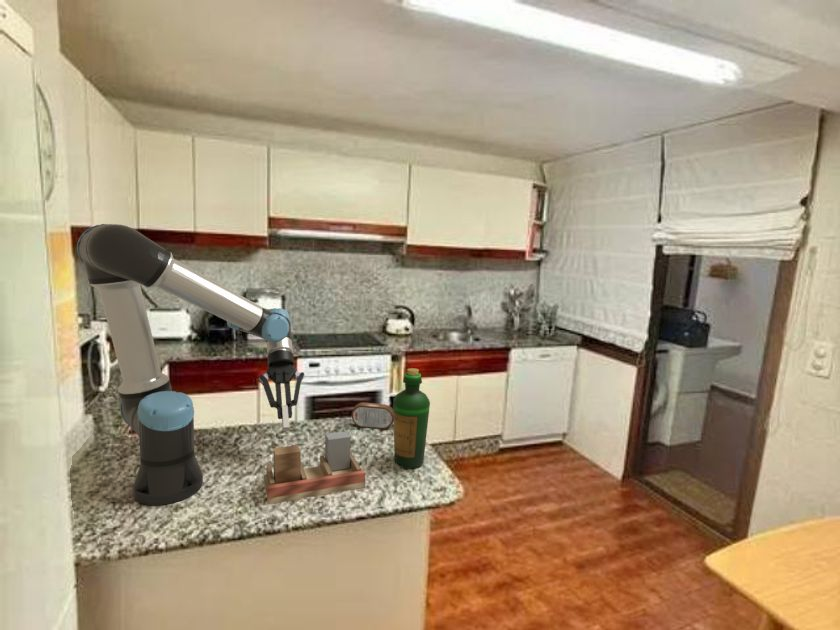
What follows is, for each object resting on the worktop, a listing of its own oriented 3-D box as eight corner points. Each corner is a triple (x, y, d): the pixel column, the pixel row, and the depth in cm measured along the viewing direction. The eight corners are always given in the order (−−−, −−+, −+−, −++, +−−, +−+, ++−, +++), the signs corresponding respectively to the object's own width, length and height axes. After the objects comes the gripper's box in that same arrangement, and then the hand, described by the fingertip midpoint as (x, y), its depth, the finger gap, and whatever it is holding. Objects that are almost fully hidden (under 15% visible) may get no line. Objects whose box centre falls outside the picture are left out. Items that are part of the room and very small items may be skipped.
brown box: (275, 489, 111) (275, 455, 110) (273, 480, 115) (273, 447, 114) (300, 485, 113) (300, 451, 112) (297, 476, 117) (297, 443, 116)
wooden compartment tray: (268, 504, 108) (268, 486, 107) (263, 480, 118) (263, 463, 118) (364, 487, 117) (365, 471, 117) (352, 466, 128) (353, 451, 127)
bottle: (386, 456, 135) (389, 365, 131) (419, 452, 139) (423, 364, 135) (396, 473, 125) (401, 376, 121) (432, 468, 129) (437, 373, 125)
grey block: (327, 471, 121) (328, 439, 119) (324, 463, 125) (324, 432, 124) (349, 468, 123) (350, 436, 122) (345, 460, 127) (346, 430, 126)
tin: (394, 427, 157) (395, 404, 156) (393, 431, 154) (394, 407, 153) (352, 423, 159) (353, 400, 157) (350, 427, 156) (350, 403, 154)
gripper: (300, 360, 142) (308, 431, 130) (256, 362, 137) (260, 436, 124) (303, 347, 136) (311, 421, 124) (258, 349, 131) (261, 426, 119)
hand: (286, 429), depth 124 cm, fingers closed
